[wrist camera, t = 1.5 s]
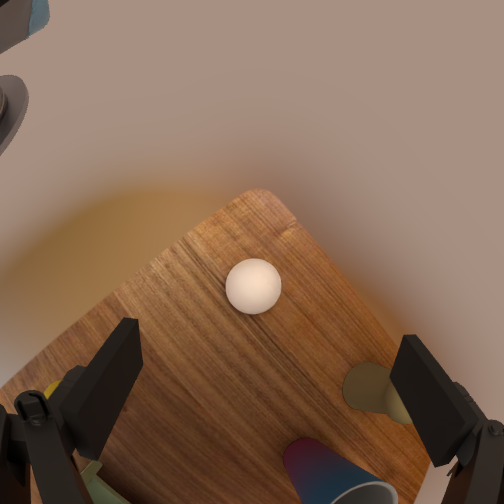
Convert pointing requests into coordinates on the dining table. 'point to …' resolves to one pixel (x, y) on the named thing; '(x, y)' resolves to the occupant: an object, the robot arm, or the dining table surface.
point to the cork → (374, 392)
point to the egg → (253, 286)
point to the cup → (332, 477)
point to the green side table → (100, 486)
